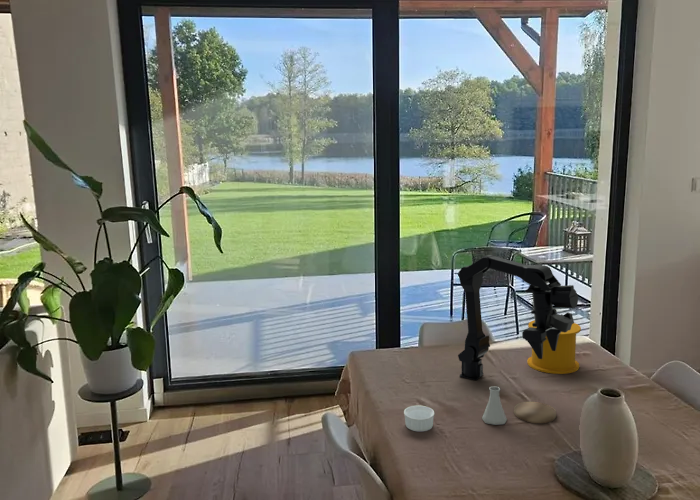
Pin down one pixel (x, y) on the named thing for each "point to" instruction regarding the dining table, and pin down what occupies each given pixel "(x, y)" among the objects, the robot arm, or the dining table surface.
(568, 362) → the spool
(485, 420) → the flask
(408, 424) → the ramekin
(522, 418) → the brass disc
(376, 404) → the dining table surface
